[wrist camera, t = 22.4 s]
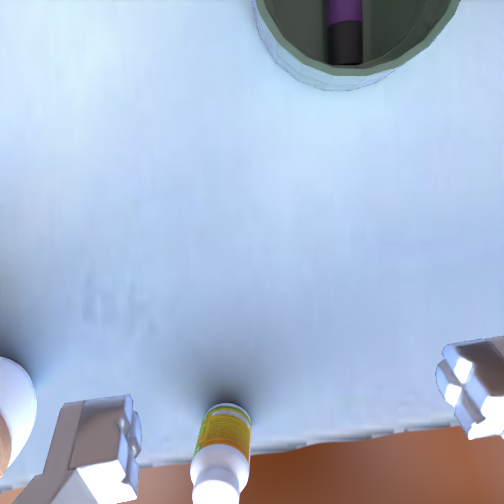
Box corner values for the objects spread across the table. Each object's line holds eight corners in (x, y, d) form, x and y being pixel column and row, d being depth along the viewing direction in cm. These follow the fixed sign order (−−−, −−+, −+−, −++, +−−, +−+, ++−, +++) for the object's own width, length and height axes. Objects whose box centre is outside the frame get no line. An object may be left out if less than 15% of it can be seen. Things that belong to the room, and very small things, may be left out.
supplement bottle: (202, 400, 42) (182, 470, 33) (252, 402, 42) (247, 474, 32) (202, 443, 43) (184, 523, 34) (251, 446, 43) (246, 527, 34)
